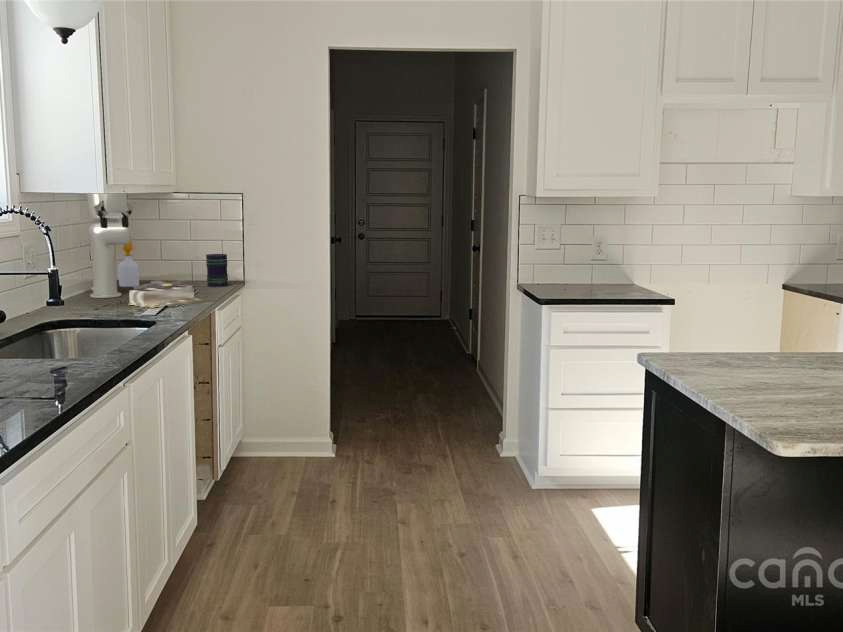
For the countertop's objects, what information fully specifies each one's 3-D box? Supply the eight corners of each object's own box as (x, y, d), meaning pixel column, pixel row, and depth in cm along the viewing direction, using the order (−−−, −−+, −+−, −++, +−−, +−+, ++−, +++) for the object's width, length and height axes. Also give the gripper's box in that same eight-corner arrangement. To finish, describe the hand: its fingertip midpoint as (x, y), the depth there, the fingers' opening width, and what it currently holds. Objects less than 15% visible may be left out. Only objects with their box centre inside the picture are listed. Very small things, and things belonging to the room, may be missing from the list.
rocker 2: (167, 285, 356) (166, 282, 356) (176, 284, 359) (175, 281, 359) (180, 283, 350) (180, 280, 350) (189, 282, 354) (188, 279, 353)
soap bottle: (138, 284, 415) (135, 233, 411) (140, 286, 407) (137, 234, 403) (118, 285, 411) (115, 234, 408) (120, 287, 403) (117, 235, 399)
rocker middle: (150, 284, 349) (150, 280, 349) (159, 283, 353) (159, 279, 352) (163, 289, 344) (164, 285, 344) (173, 288, 348) (173, 284, 347)
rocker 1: (133, 289, 343) (133, 286, 343) (143, 288, 347) (142, 285, 347) (146, 287, 338) (146, 284, 338) (156, 286, 341) (155, 283, 341)
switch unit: (128, 305, 343) (127, 290, 342) (180, 299, 362) (179, 284, 361) (151, 308, 334) (150, 293, 333) (203, 301, 353) (202, 287, 352)
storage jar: (232, 285, 410) (231, 254, 408) (215, 287, 402) (214, 255, 400) (219, 284, 416) (218, 253, 414) (202, 286, 409) (201, 254, 407)
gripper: (124, 184, 342) (127, 227, 344) (86, 183, 328) (89, 228, 330) (137, 183, 338) (139, 227, 340) (99, 182, 323) (101, 228, 326)
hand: (115, 227), depth 335 cm, fingers open, 9 cm apart
